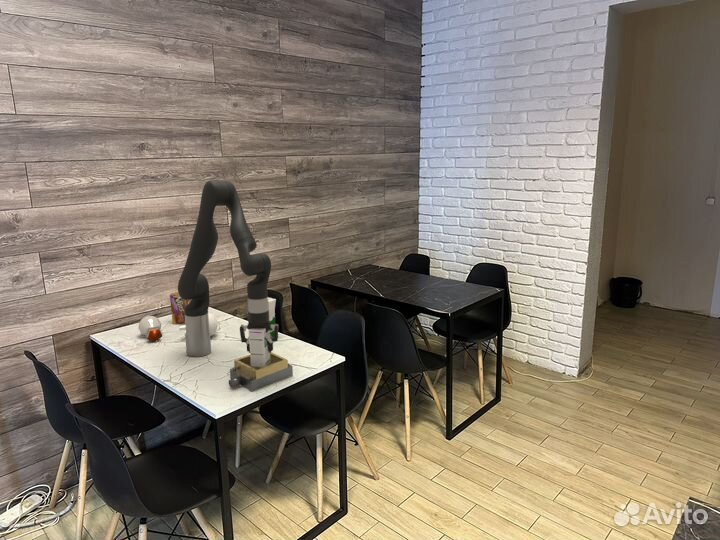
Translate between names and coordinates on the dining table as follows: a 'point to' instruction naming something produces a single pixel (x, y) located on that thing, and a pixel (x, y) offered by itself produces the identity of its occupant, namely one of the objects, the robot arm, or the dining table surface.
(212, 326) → the piggy bank
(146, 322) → the potion bottle
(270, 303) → the milk carton
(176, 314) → the candy box
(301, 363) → the dining table surface
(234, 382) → the wooden drawer tray
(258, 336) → the syrup box
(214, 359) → the dining table surface
